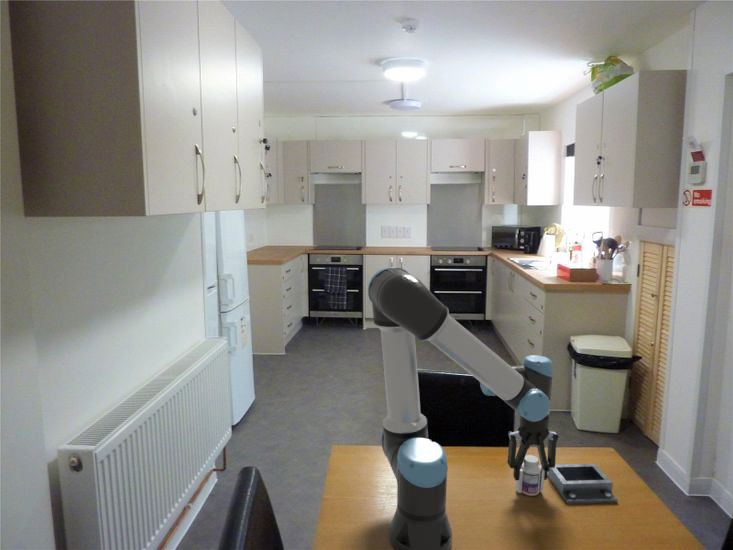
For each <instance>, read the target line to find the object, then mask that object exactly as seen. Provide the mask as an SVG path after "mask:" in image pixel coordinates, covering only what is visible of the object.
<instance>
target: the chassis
mask: <svg viewBox="0 0 733 550" xmlns="http://www.w3.org/2000/svg"><path fill="white" fill-rule="evenodd" d="M549 469H550V471H548V473H547V479H549V481H550V482H551V484H552V486H554V489H556V490H557V493H559V495H560V497H562V499H563V500H564V501H565V502H566V504H567V505H573V504H574V505H576V504H577V505H578V504H580V505H581V504H608V503H611V504H612V503H613V504H614V503H618V501H619V499H618V497H617V496H615V494H614V493H613V485H614V483H613V481H612V480H611V479H610V478H609V477H608V476H607V475H606V474H605V473H604V471H603V470H601V469H600V467H599V466H598V465H597V464H596V463H564V464H563V463H562V464H559V463H558V464H557V463H555V467H554V468H552V467H551V468H549Z"/></svg>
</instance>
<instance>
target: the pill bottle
mask: <svg viewBox="0 0 733 550" xmlns="http://www.w3.org/2000/svg"><path fill="white" fill-rule="evenodd" d="M539 462H540V458H538V457H537V456H534V455H532V454H531V455H530V454H526V455H525V458H524V461H523V464H522V466H521V469H522V470H523V480H522V494H525V496H531V497H534V496H537V495H539V493H540V491H539V490H540V475H541V468H540V467H539V466H540V465H539V464H540V463H539Z"/></svg>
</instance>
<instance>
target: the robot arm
mask: <svg viewBox="0 0 733 550" xmlns="http://www.w3.org/2000/svg"><path fill="white" fill-rule="evenodd" d="M367 295H368V298H369V301H370V302H371V306H372V317H373V324H374V325H375V327H377V328H378V329H379V330H380V336H381V337H380V341H381V351H382V363H383V374H384V384H385V386H384V387H385V399H386V408H387V409H386V410H387V416H386V417H385V418H384V419H383V421H382V427H383V428H382V431H381V439H380V441H381V447H382V450H383V453H384V455H385V458H387V460H388V463H389V465H390V467H391V468H390V469H391V470H392V473H393V474H394V476H395V479H396V483H397V484H396V486H397V487H396V489H397V491H396V494H397V495H396V504H397V505H396V509H395V511H394V514H393V518H392V520H391V523H390V525H389V542H390V544H391V546H392V547H393V549H394V550H451V548H452V544H453V532H452V531H453V530H452V528H451V524H450V521H449V518H448V515H447V509H446V506H447V505H446V504H447V481H448V480H447V479H448V472H449V471H448V469H449V465H448V457H447V454H446V451H445V449H444V448H443V447H442V445H440V444H439V443H438V442H436V441H432V439H429V431H428V418H427V417H426V416H425V415H424V414H422V413H421V401H420V387H419V375H418V360H417V359H418V358H417V348H416V347H417V345H416V338H418V339H419V340H420V341H422V342H425V341H426V342H427V341H428V342H430V343H431V344H432V345H433V346H434V347H436V348H437V349H438V350H440V352H442V353H443V354H445V355H446V356H447V357H449V358H450V359H451V360H452V361H453V362H455V363H456V364H457V365H459V366H460V367H461V368H462V369H463V370H465V371H466V372H467V373H468V374H469V375H471V376H472V377H473V378H475V379H476V380H477V381H479V385H480V389H481V391H482V393H483V394H484V395H485V396H489V397H490V396H493V397H495V396H497V397H499V398H500V399H501V400H502V401H504V403H505V404H507V405H508V406H510V407H511V408H512V409H513V410H514V411H515V412H517V413H518V415H519V427H518V429H517V430H515V431H513V432H512V430H511V431H508V433H507V435H508V438H509V442H508V452H507V453H508V454H507V464H508V466H509V468H510V469H513V473H512V474H513V475H512V476H513V478H514V481H515V488H516V491H517V492H518V493H519V494H521V493H522V480H523V470H522V469H521V466H522V464H523V463H524V458H525V456H526V455H527V453H528V450H530V446H534V445H535V446H536V447H537V453H538V455H539V462H540V464H541V465H539V467H540V468H541V475H540V490H539V493H544V485H545V484H544V483H545V480H547V479H548V477H547V473H548V471H550V469H549V468H551V467H552V468H554V467H555V465H556V459H557V458H556V454H557V442H558V439H559V435H558V433H557V432H556V431H555V430H552V431H550V429H549V423H550V422H549V421H550V415H549V414H550V410H551V409H550V408H551V396H552V384H553V378H554V374H553V372H554V371H553V370H554V367H553V366H554V365H553V362H552V360H551V359H550V358H548V357H547V356H543V355H537V354H532V355H531V354H530V355H527V356H525V357H524V358H523V361H522V364H519V365H510V364H509V363H508V362H506V361H505V360H504V359H502V357H500V355H498V354H497V353H496V352H494V350H492V349H491V348H490V347H489V346H487V345H486V344H485V343H484V342H482V341H481V340H480V339H479V338H477V336H475V335H474V334H473V333H472V332H470V331H469V330H468V329H467V328H465V327H464V326H463V325H462V324H460V323H459V321H457V320H456V319H455V318H453V316H451V315H450V312H449V308H448V307H447V306H446V305H444V303H442V302H441V301H440V300H439V299H438V298H437V297H436V296H435V295H434V294H433V293H432V292H431V290H430V289H429V288H428V287H427V286H426V285H425V284H424V283H423V282H422V281H421V280H420V279H418V278H417V277H416V276H414V275H413V274H410V273H409V272H408V271H407V270H405V269H403V268H401V267H394V266H393V267H392V266H389V267H384V268H382V269H379V270H378V271H376V272H375V273H374V274H373V276H371V278H370V280H369V282H368V286H367ZM519 436H520V438H521V439H520V441H519V442H520V445H519V447H518V450H517V446H518V444H517V442H518V440H519ZM547 438H548V440H547V454H546V448H545V443H544V441H546V439H547ZM522 494H523V493H522Z"/></svg>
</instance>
